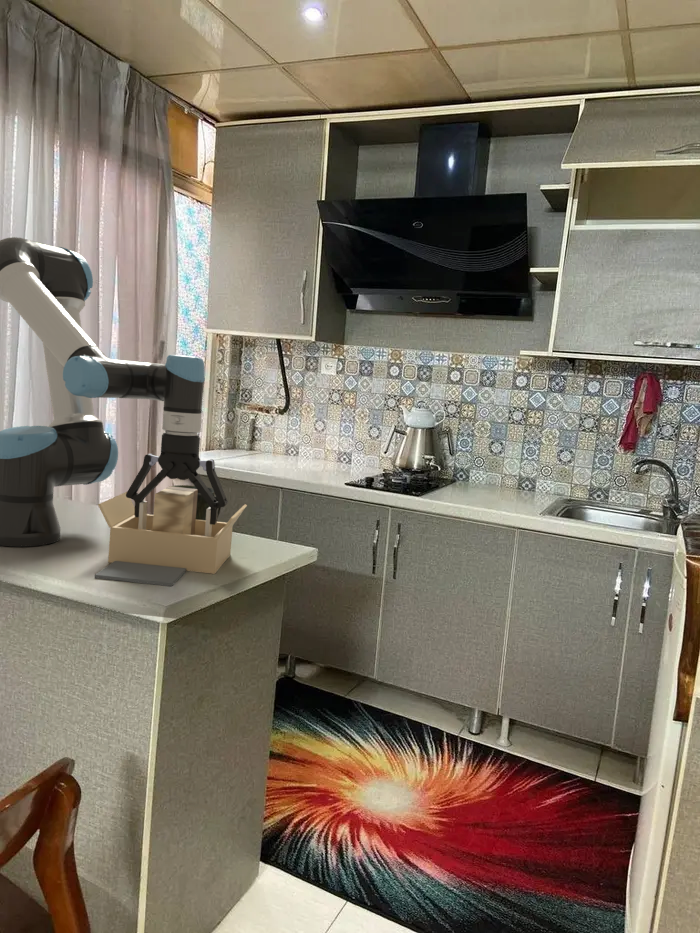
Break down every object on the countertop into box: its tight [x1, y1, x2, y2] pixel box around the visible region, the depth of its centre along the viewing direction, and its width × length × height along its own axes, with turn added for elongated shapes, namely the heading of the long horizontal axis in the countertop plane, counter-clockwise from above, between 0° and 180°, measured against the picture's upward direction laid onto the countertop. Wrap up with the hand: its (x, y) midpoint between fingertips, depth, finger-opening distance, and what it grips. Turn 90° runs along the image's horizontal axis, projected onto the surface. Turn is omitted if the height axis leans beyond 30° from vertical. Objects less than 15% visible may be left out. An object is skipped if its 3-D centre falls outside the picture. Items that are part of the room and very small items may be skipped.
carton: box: [97, 491, 248, 575], centre depth 145 cm, size 26×15×12 cm, turn 88°
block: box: [152, 485, 198, 535], centre depth 145 cm, size 6×10×14 cm, turn 178°
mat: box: [94, 561, 187, 587], centre depth 133 cm, size 14×10×1 cm
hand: (174, 536), depth 145 cm, fingers open, 13 cm apart
